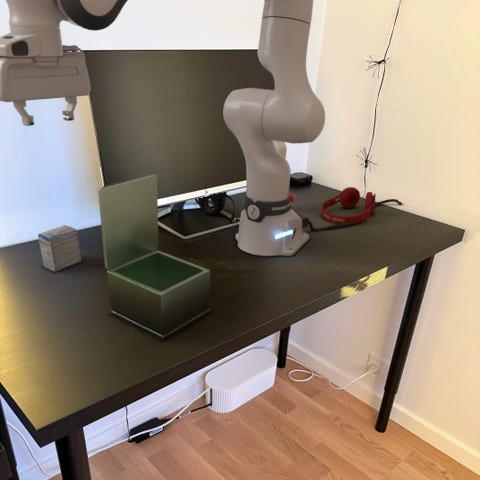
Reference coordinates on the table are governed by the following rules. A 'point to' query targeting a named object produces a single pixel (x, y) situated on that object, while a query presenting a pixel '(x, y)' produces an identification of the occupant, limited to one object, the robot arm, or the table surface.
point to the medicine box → (59, 247)
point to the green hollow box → (159, 293)
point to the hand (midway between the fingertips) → (49, 122)
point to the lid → (129, 219)
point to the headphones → (349, 206)
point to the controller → (216, 199)
